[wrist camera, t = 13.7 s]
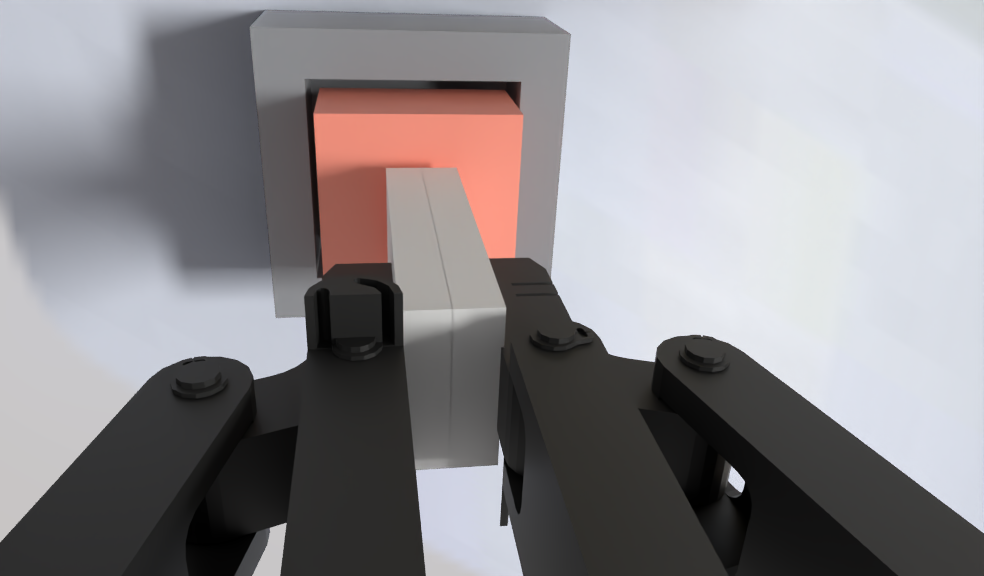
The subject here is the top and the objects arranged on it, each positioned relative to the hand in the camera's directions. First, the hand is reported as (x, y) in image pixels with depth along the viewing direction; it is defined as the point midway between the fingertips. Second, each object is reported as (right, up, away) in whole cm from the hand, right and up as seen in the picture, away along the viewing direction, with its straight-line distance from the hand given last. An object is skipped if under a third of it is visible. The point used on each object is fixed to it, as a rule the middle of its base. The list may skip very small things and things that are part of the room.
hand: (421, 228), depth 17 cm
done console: (-1, +3, +5) cm, 6 cm away
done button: (0, +1, +3) cm, 3 cm away
